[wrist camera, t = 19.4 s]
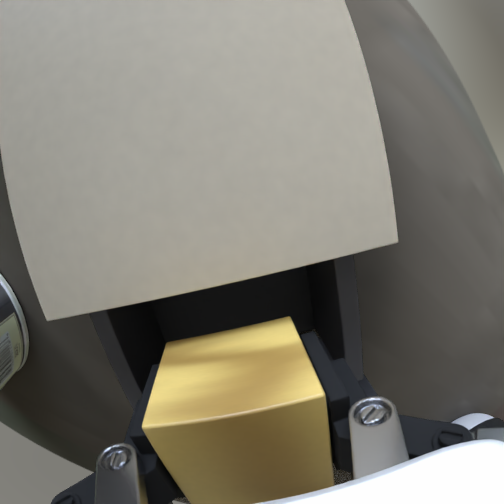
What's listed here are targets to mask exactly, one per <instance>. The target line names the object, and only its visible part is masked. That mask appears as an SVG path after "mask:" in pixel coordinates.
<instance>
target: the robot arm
mask: <svg viewBox="0 0 504 504" xmlns="http://www.w3.org/2000/svg"><path fill="white" fill-rule="evenodd" d="M300 339H301V341H302V343H303V345H304V348H305V350H306V352H307V354H308V357H309V359H310V361H311V363H312V365H313V368H314V370H315V372H316V374H317V377H318V379H319V381H320V383H321V386H322V388H323V390H324V392H325V395H326V404H327V412H328V421H329V430H330V440H331V450H332V461H333V463H334V464H335V467H336V470H340V469H341V470H344V471H347V472H350V475H351V481H349V482H346V483H342V484H339V485H336V486H332V487H329V488H325V489H321V490H317V491H313V492H309V493H305V494H301V495H297V496H292V497H287V498H282V499H277V500H272V501H267V502H261V503H255V504H504V427H501V428H477V431H476V432H470V431H469V430H468V429H467V428H466V427H464V426H462V425H459V424H455V423H448V422H441V421H434V420H427V419H421V418H415V417H410V416H404V415H399V414H398V413H397V409H396V407H395V405H394V403H393V402H392V401H391V400H389V399H387V398H384V397H379V396H372V397H367V395H366V393H365V392H364V390H363V389H362V387H361V385H360V384H359V382H358V380H357V379H356V377H355V376H354V374H353V372H352V371H351V369H350V367H349V366H348V364H347V363H346V361H345V360H344V358H340V359H337V360H333V361H330V359H329V357H328V355H327V354H326V352H325V350H324V348H323V346H322V345H321V343H320V341H319V339H318V337H317V335H316V334H315V332H314V331H312V332H308V333H305V334H301V335H300ZM159 365H160V364H155V365H152V368H151V371H150V374H149V377H148V379H147V382H146V386H145V389H144V392H143V395H142V398H141V399H139V400H138V401H137V403H136V406H135V409H134V412H133V416H132V419H131V422H130V425H129V428H128V431H127V434H126V437H125V440H124V443H115V444H112V445H110V446H108V447H106V448H104V449H103V450H102V451H101V452H100V454H99V455H98V457H97V462H96V472H94V473H93V474H91V475H90V476H88V477H86V478H85V479H83V480H82V481H80V482H78V483H76V484H75V485H73V486H71V487H69V488H68V489H66V490H64V491H63V492H61V493H59V494H58V495H57V496H55V498H54V499H53V500H52V502H51V504H173V503H172V501H173V500H174V499H175V498H180V497H186V496H185V495H184V493H183V492H182V491H181V489H180V488H179V486H178V485H177V483H176V482H175V481H174V479H173V478H172V476H171V475H170V473H169V472H168V470H167V469H166V467H165V465H164V464H163V462H162V461H161V459H160V458H159V456H158V454H157V453H156V451H155V450H154V448H153V446H152V445H151V443H150V441H149V440H148V438H147V436H146V435H145V433H144V431H143V429H142V423H143V419H144V416H145V412H146V409H147V405H148V402H149V398H150V395H151V391H152V388H153V385H154V381H155V378H156V375H157V371H158V368H159Z"/></svg>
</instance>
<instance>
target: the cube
mask: <svg viewBox="0 0 504 504" xmlns="http://www.w3.org/2000/svg"><path fill="white" fill-rule="evenodd" d="M142 429H143V431H144V433H145V435H146V436H147V438H148V440H149V441H150V443H151V445H152V446H153V448H154V450H155V451H156V453H157V454H158V456H159V458H160V459H161V461H162V462H163V464H164V465H165V467H166V469H167V470H168V472H169V473H170V475H171V476H172V478H173V479H174V481H175V482H176V483H177V485H178V486H179V488H180V489H181V491H182V492H183V493H184V495H185V496H186V498H187V499H188V500H189V502H190V503H191V504H255V503H261V502H267V501H272V500H277V499H282V498H287V497H292V496H297V495H301V494H305V493H309V492H313V491H317V490H321V489H325V488H329V487H332V486H335V484H334V472H333V461H332V450H331V440H330V430H329V421H328V412H327V404H326V395H325V392H324V390H323V388H322V386H321V383H320V381H319V379H318V377H317V374H316V372H315V370H314V368H313V365H312V363H311V361H310V359H309V357H308V354H307V352H306V350H305V348H304V345H303V343H302V341H301V339H300V337H299V334H298V332H297V330H296V328H295V326H294V323H293V321H292V319H291V317H289V316H288V317H284V318H279V319H275V320H271V321H267V322H262V323H258V324H254V325H249V326H245V327H240V328H236V329H231V330H226V331H222V332H217V333H212V334H207V335H202V336H197V337H192V338H187V339H181V340H176V341H171V342H167V343H166V346H165V349H164V352H163V355H162V358H161V362H160V365H159V368H158V371H157V375H156V378H155V381H154V385H153V388H152V391H151V395H150V398H149V402H148V405H147V409H146V412H145V416H144V419H143V423H142Z"/></svg>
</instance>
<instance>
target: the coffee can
mask: <svg viewBox="0 0 504 504" xmlns="http://www.w3.org/2000/svg"><path fill="white" fill-rule="evenodd" d="M28 351H29V335H28V329H27V325H26V321H25V317H24V315H23V311H22V308H21V306H20V304H19V303H18V300H17V298H16V296H15V294H14V292H13V291H12V289H11V287H10V286H9V284H8V283H7V281H6V280H5V279H4V277H3V276H2V275H1V274H0V391H1V390H2V388H3V387H4V386H5V385H6V383H7V382H8V381H9V380H10V379H11V377H12V376H13V375H14V374H15V373H16V372H17V371H18V370H20V369H21V368H22V367H23V365H24V364H25V362H26V359H27V357H28Z"/></svg>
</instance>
